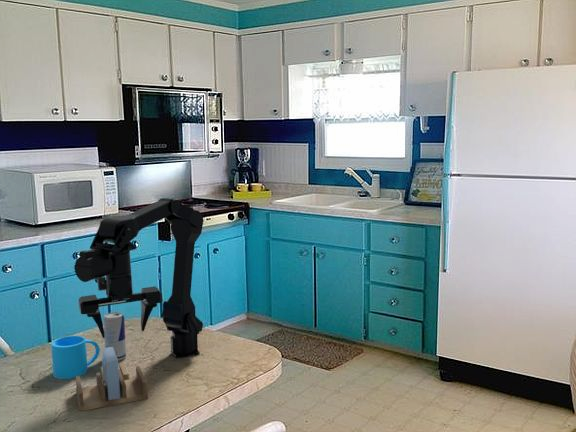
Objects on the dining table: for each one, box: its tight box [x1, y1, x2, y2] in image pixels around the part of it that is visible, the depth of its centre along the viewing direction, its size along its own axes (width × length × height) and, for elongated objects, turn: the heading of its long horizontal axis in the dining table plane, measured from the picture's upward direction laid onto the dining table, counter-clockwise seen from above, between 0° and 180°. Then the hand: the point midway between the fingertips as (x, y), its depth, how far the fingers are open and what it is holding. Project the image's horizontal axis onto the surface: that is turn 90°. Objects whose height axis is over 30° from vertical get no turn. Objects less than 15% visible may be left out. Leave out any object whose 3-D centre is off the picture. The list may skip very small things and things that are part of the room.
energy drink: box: [102, 311, 127, 362], centre depth 159 cm, size 5×5×12 cm
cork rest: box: [100, 361, 130, 383], centre depth 147 cm, size 6×8×2 cm
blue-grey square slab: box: [101, 347, 120, 400], centre depth 137 cm, size 2×9×9 cm, turn 24°
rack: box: [75, 365, 149, 412], centre depth 137 cm, size 15×10×4 cm
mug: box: [50, 335, 101, 380], centre depth 151 cm, size 12×8×8 cm
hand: (123, 334), depth 143 cm, fingers open, 9 cm apart
